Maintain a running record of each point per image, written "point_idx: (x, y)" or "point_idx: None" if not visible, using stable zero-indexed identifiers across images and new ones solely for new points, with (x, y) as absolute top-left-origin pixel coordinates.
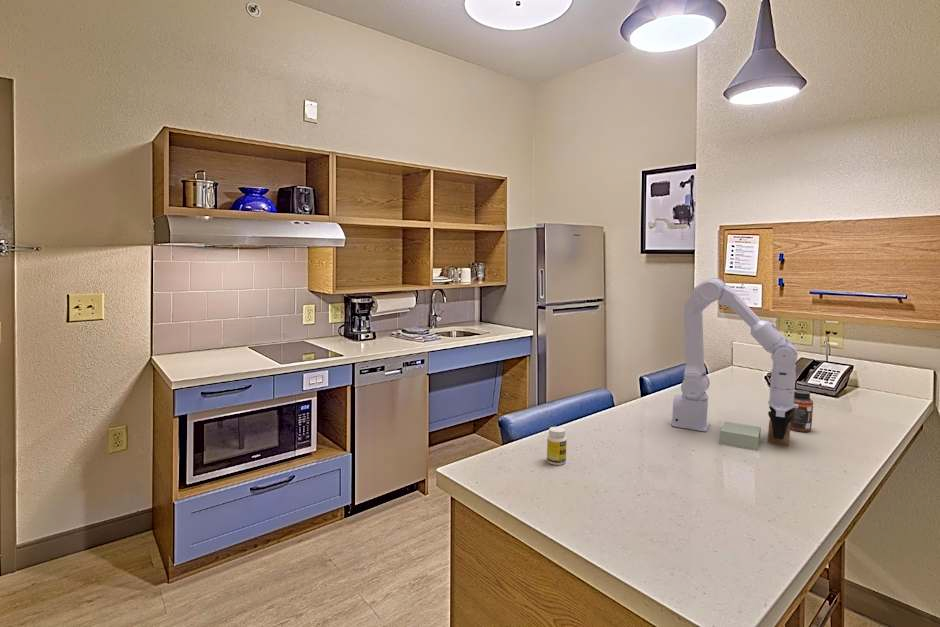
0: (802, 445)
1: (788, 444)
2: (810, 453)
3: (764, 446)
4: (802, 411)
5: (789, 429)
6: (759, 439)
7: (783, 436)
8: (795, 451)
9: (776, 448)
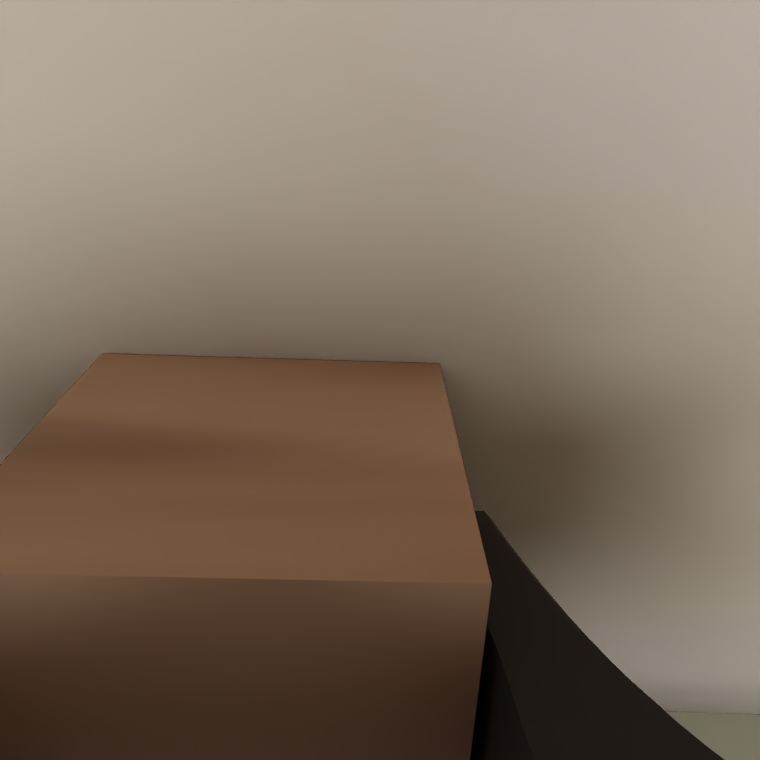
0: (299, 138)
1: (441, 378)
2: (733, 12)
3: (633, 652)
4: None
5: (481, 559)
6: None
7: (505, 544)
8: (708, 273)
9: (661, 524)
